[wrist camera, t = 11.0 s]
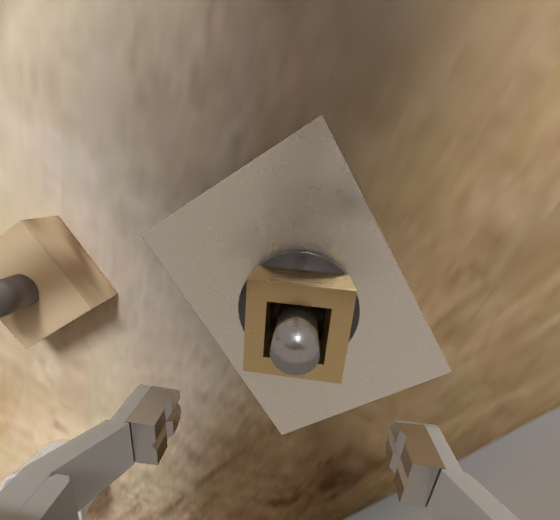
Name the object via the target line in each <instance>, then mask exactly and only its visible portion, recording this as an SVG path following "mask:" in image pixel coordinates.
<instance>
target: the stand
mask: <svg viewBox="0 0 560 520" xmlns="http://www.w3.org/2000/svg"><path fill="white" fill-rule="evenodd" d="M115 295H117V292H116V291H115V290H114V288H113V287H112V286H111V284H110V283H109V282H108V280H107V279H106V278H105V276H104V275H103V274H102V272H101V271H100V270H99V269H98V267H97V266H96V265H95V263H94V262H93V261H92V259H91V258H90V257H89V255H88V254H87V253H86V251H85V250H84V249H83V248H82V246H81V245H80V244H79V242H78V241H77V240H76V238H75V237H74V236H73V234H72V233H71V232H70V230H69V229H68V228H67V226H66V225H65V224H64V223H63V221H62V220H61V219H60V217H59V216H52V217H44V218H36V219H27V220H21V221H19V222H18V223H17V224H16V225H14V226H13V227H12V228H10V229H9V230H8V231H7V232H5V233H4V234H3V235H2V236H0V320H1V321H2V323H3V324H4V325H5V326H6V327H7V328H8V329H9V330H10V332H11V333H12V334H13V335H14V336H15V337H16V338H17V340H18V341H19V342H20V343H21V344H22V345H23V346H24V347H25V349H27V348H28V347H30V346H32V345H33V344H35V343H37V342H39V341H40V340H42V339H44V338H45V337H47V336H49V335H51V334H52V333H54V332H56V331H58V330H59V329H61V328H62V327H64V326H66V325H67V324H69V323H71V322H72V321H74V320H76V319H77V318H79V317H81V316H82V315H84V314H86V313H87V312H89V311H90V310H92V309H94V308H95V307H97V306H99V305H100V304H102V303H104V302H105V301H107V300H109V299H110V298H112V297H113V296H115Z"/></svg>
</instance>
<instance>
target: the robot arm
mask: <svg viewBox="0 0 560 520" xmlns="http://www.w3.org/2000/svg"><path fill="white" fill-rule="evenodd" d="M179 399H180V391H178V390H174V389H168V388H162V387H156V386H148V385H142V384H141V385H139V386H138V387H137V388H136V389H135V390H134V391H133V393H132V394H131V395H130V396H129V398H128V399H127V400H126V401H125V403H124V404H123V405H122V406H121V408H120V409H119V410H118V411H117V413H116V414H115V415H114V416H113V418H112V419H111V420H105V421H104V422H102V423H100V424H98V425H97V426H95V427H93V428H91V429H90V430H88V431H86V432H84V433H83V434H81V435H79V436H77V437H76V438H74V439H72V440H70V441H69V442H67V443H65V444H63V445H62V446H60V447H58V448H56V449H55V450H53V451H51V452H49V453H48V454H46V455H44V456H42V457H41V458H39V459H37V460H35V461H34V462H32V463H30V464H28V465H27V466H25V467H24V468H23V469H22V470H21V471H20V472H19V473H18V474H17V475H16V476H15V477H14V478H13V479H12V480H11V481H10V482H9V483H8V484H7V485H6V486H5V487H4V488H3V489H2V490H1V491H0V520H80V519H79V515H78V512H79V511H80V510H81V509H82V508H84V507H85V506H86V505H87V504H88V503H89V502H90V501H92V500H93V499H94V498H95V497H96V496H97V495H99V494H100V493H101V492H102V491H103V490H104V489H105V488H107V487H108V486H109V485H110V484H111V483H112V482H114V481H115V480H116V479H117V478H118V477H119V476H121V475H122V474H123V473H124V472H125V471H126V470H127V469H129V468H130V467H131V466H132V465H133V464H134V462H138V463H146V464H155V465H158V464H159V462H160V460H161V458H162V456H163V454H164V452H165V450H166V448H167V439H168V438H169V437H171V436H172V435H173V434H174V432H175V430H176V428H177V426H178V423H179V419H180V413H181V407H180V406H179V404H178V401H179ZM390 429H391V432H392V433H391V434H390V435H389V436H387V441H386V456H387V461H388V464H389V467H390V468H391V469H392V470H393V472H394V473H395V476H394V479H393V481H394V485H395V488H396V492H397V495H398V498H399V502H400V503H404V504H410V505H415V506H420V507H426V508H427V509H426V510H427V511H428V512H429V514H430V515H431V516H432V518H433V519H434V520H519V519H518V518H517V517H516V516H515V515H514V514H512V513H511V512H510V511H509V510H508V509H507V508H506V507H505V506H504V505H502V504H501V503H500V502H499V501H498V500H497V499H496V498H495V497H494V496H493V495H492V494H490V493H489V492H488V491H487V490H486V489H485V488H483V486H482V485H480V484H479V483H478V482H477V481H476V480H475V479H474V478H473V477H471V475H469V474H468V473H465V472H463V471H462V469H461V467H460V465H459V464H458V462H457V460H456V458H455V456H454V454H453V453H452V451H451V449H450V447H449V445H448V443H447V442H446V440H445V438H444V436H443V434H442V432H441V431H440V429H439V427H438V426H437V425H432V424H424V423H417V422H409V421H401V420H393V421H392V422H391V426H390Z"/></svg>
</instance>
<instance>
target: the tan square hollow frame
mask: <svg viewBox="0 0 560 520" xmlns="http://www.w3.org/2000/svg"><path fill="white" fill-rule="evenodd" d="M356 296H357V290H356V288H355V286H354V283H353V281H352V279H351V277H350V275H347V274H338V273H328V272H318V271H309V270H299V269H289V268H280V267H270V266H260V265H256V266H255V268H254V269H253V271H252V272H251V274H250V275H249V277H248V278H247V288H246V311H245V334H244V357H243V371H248V372H256V373H263V374H271V375H278V376H286V377H293V378H301V379H308V380H316V381H323V382H330V383H338V384H341V383H342V377H343V371H344V366H345V360H346V354H347V348H348V342H349V336H350V331H351V325H352V319H353V313H354V307H355V301H356ZM271 302H276V303H285V304H294V305H303V306H311V307H320V308H326V310H325V317H324V324H323V332H322V339H319V351H320V358H319V361H318V364H317V365H316V367H315V368H314V369H313V370H311V371H310V372H308V373H306V374H303V375H289V374H286V373H284V372H282V371H280V370H279V369H278V368H276V367H275V365H274V364H273V362H272V360H271V358H270V347H271V343H272V338H273V334H274V333H270V332H269V329H270V315H271Z"/></svg>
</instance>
